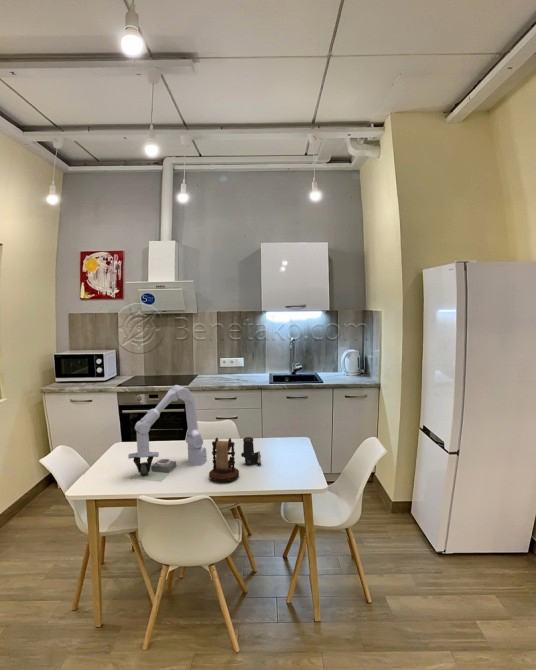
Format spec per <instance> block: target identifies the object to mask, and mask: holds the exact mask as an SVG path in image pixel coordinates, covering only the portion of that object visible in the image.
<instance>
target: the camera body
mask: <svg viewBox="0 0 536 670" xmlns="http://www.w3.org/2000/svg"><path fill="white" fill-rule="evenodd" d="M153 463H154V464H153V465H152V466H151V471H152V472H163V473H170V472H171V471H172V470H173V469H175V468H176V465H177V461H175V460H171V459H170V458H161V459H159V460H156V462H153ZM175 470H176V469H175Z"/></svg>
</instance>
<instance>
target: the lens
mask: <svg viewBox="0 0 536 670" xmlns="http://www.w3.org/2000/svg"><path fill="white" fill-rule="evenodd" d="M148 474H149V472H148V463H147V461H144V462H140V475H141V476H146V475H148Z"/></svg>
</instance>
